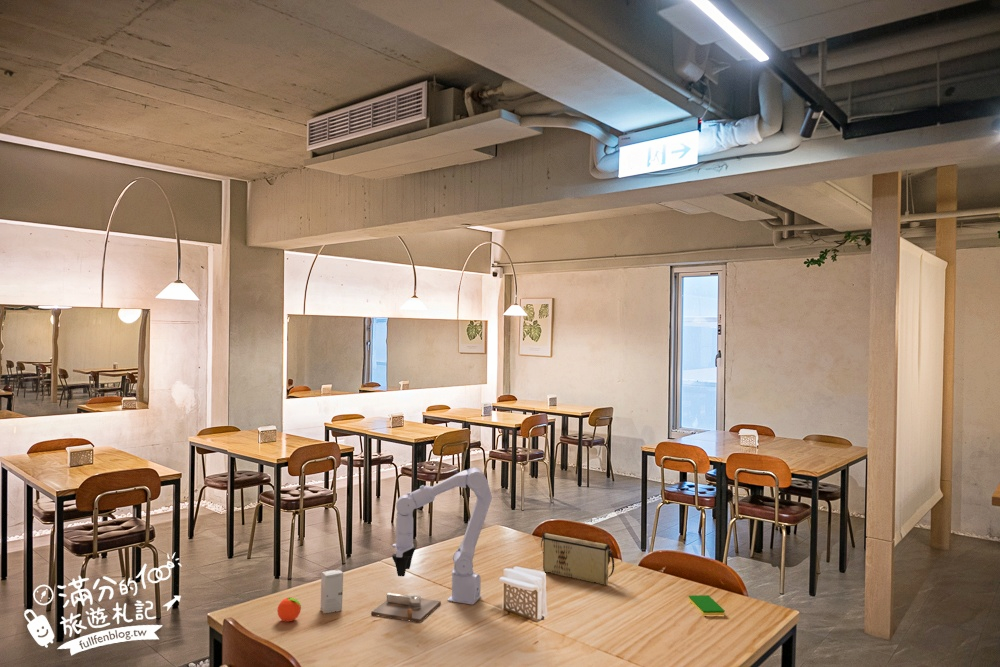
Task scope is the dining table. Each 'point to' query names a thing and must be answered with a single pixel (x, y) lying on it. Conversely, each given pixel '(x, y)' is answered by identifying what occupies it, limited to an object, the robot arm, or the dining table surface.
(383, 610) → the base board
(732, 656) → the dining table surface
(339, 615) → the dining table surface
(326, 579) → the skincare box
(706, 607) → the dish sponge
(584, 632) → the dining table surface
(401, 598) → the cap handle
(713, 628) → the dining table surface
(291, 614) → the clementine
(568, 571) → the clutch purse
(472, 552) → the robot arm
